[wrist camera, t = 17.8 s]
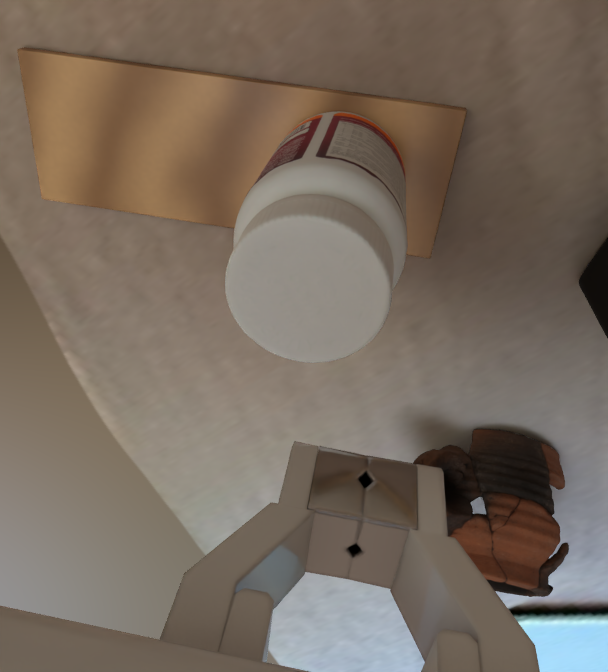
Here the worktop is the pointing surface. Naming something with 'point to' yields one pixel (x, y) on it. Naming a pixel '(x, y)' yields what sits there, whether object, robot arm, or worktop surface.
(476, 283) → the worktop surface
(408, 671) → the worktop surface
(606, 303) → the battery
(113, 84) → the wooden board
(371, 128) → the pill bottle
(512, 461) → the pottery mug
